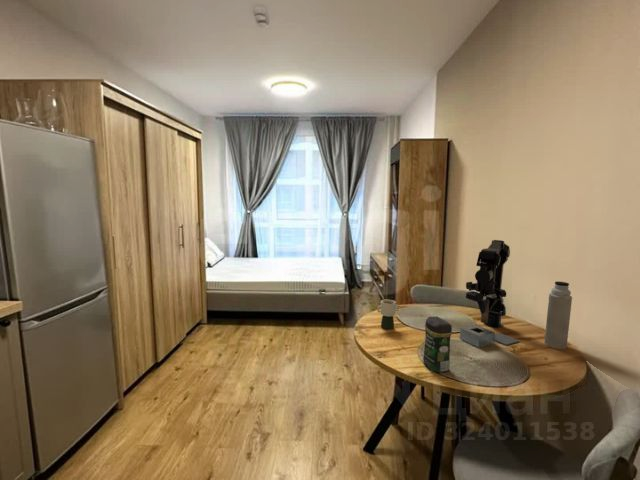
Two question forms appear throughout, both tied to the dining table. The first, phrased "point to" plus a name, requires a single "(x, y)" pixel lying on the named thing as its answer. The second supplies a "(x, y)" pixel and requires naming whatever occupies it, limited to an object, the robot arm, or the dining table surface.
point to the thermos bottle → (558, 316)
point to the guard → (477, 335)
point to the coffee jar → (437, 344)
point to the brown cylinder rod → (485, 314)
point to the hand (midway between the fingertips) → (484, 313)
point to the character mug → (388, 313)
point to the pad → (505, 339)
